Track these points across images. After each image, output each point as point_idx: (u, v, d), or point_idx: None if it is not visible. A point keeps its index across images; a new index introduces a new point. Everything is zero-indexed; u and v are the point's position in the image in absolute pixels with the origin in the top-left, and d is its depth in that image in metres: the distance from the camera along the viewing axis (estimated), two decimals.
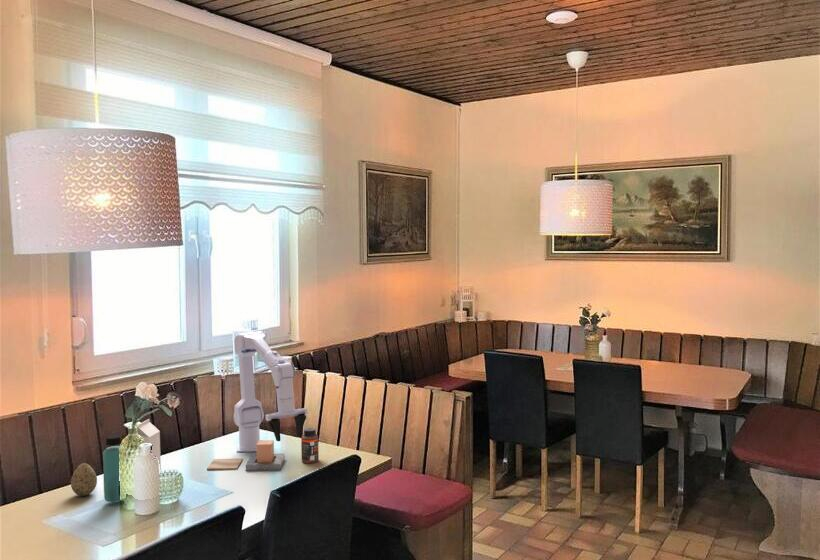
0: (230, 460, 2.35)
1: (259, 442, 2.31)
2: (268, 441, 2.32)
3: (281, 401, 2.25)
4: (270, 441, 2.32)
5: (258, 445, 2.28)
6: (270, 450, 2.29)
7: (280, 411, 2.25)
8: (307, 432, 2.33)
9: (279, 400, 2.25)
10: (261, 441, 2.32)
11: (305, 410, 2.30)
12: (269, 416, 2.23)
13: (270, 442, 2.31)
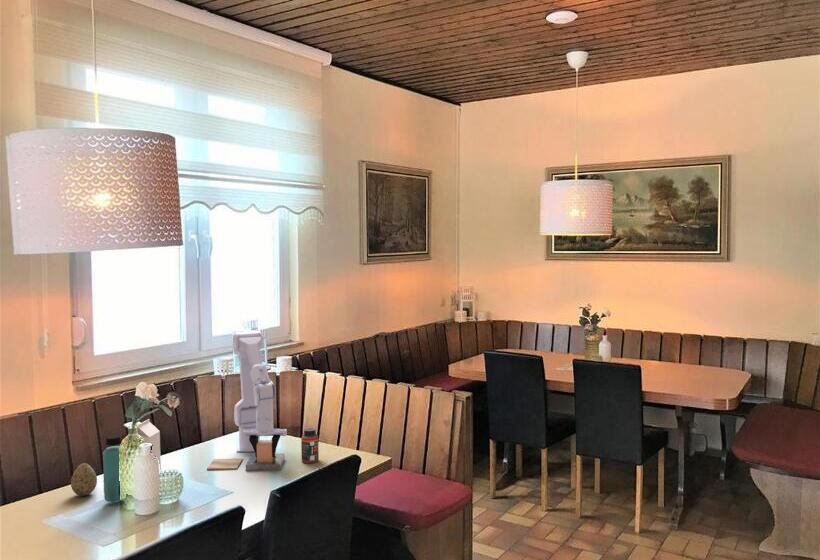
0: (230, 460, 2.35)
1: (259, 442, 2.31)
2: (268, 441, 2.32)
3: (257, 420, 2.29)
4: (270, 441, 2.32)
5: (258, 445, 2.28)
6: (270, 450, 2.29)
7: (256, 429, 2.29)
8: (307, 432, 2.33)
9: (256, 419, 2.29)
10: (261, 441, 2.32)
11: (283, 432, 2.30)
12: (244, 433, 2.29)
13: (270, 442, 2.31)
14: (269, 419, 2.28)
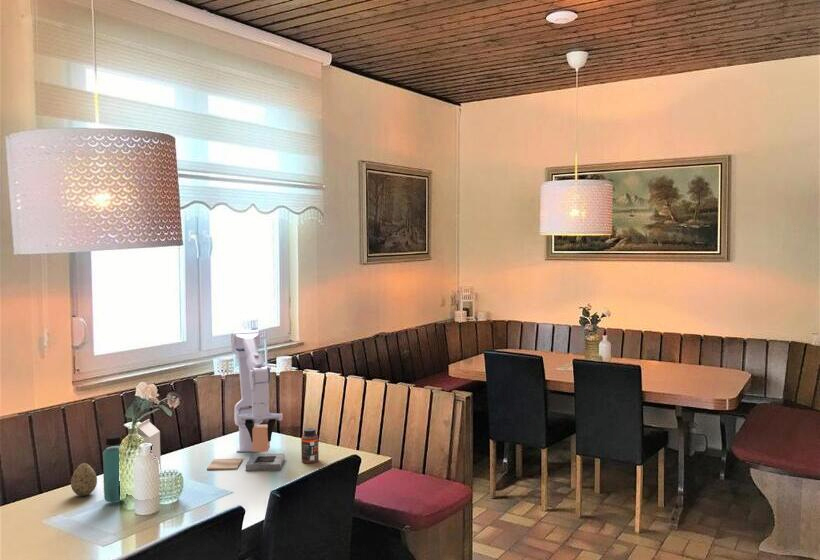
0: (230, 460, 2.35)
1: (255, 426, 2.30)
2: (264, 425, 2.32)
3: (252, 404, 2.28)
4: (266, 425, 2.32)
5: (254, 429, 2.28)
6: (266, 434, 2.28)
7: (252, 414, 2.29)
8: (307, 432, 2.33)
9: (252, 403, 2.29)
10: (257, 425, 2.32)
11: (279, 416, 2.30)
12: (240, 417, 2.29)
13: (266, 426, 2.30)
14: (265, 403, 2.28)
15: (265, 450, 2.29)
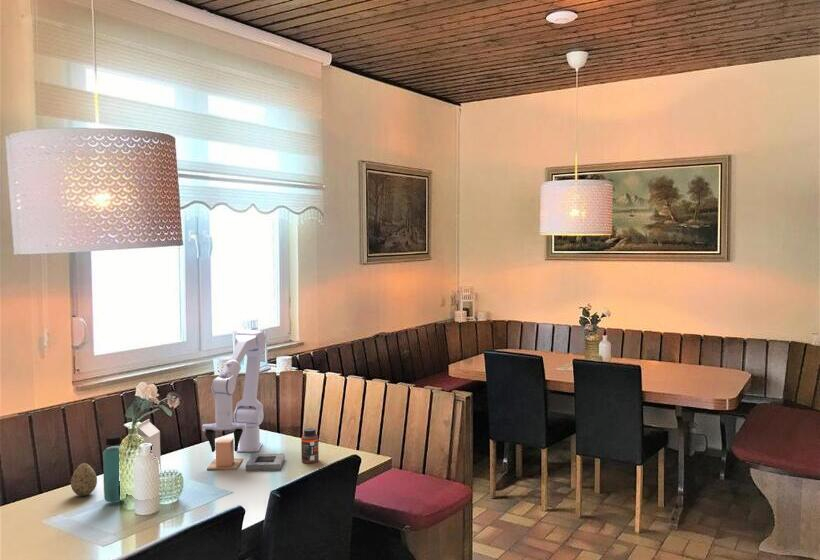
0: None
1: (218, 440, 2.31)
2: (228, 439, 2.32)
3: (216, 414, 2.29)
4: (230, 439, 2.32)
5: (217, 443, 2.29)
6: (229, 448, 2.29)
7: (215, 423, 2.30)
8: (307, 432, 2.33)
9: (215, 413, 2.29)
10: (221, 439, 2.32)
11: (242, 426, 2.30)
12: (204, 427, 2.29)
13: (229, 440, 2.31)
14: (228, 413, 2.29)
15: (228, 464, 2.29)
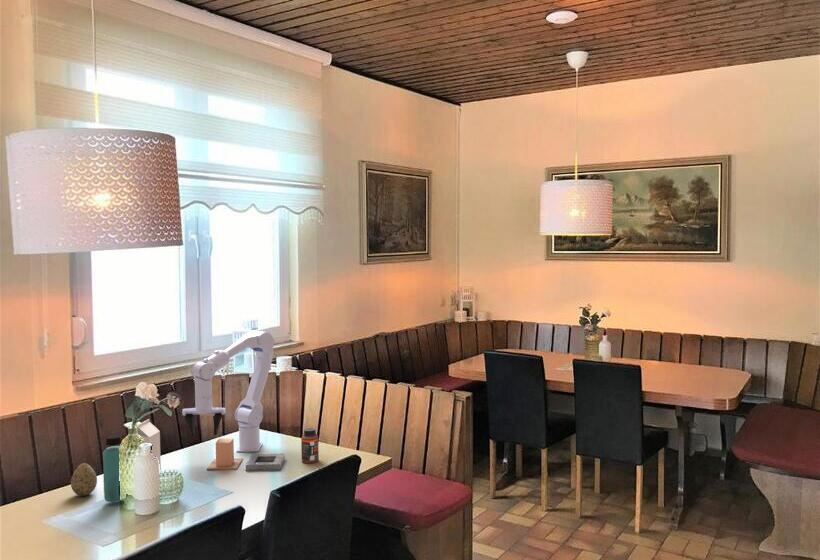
0: None
1: (218, 440, 2.31)
2: (228, 439, 2.32)
3: (195, 399, 2.33)
4: (230, 439, 2.32)
5: (217, 443, 2.29)
6: (229, 448, 2.29)
7: (195, 408, 2.34)
8: (307, 432, 2.33)
9: (195, 397, 2.34)
10: (221, 439, 2.32)
11: (222, 410, 2.34)
12: (184, 411, 2.34)
13: (229, 440, 2.31)
14: (207, 398, 2.33)
15: (228, 464, 2.29)
